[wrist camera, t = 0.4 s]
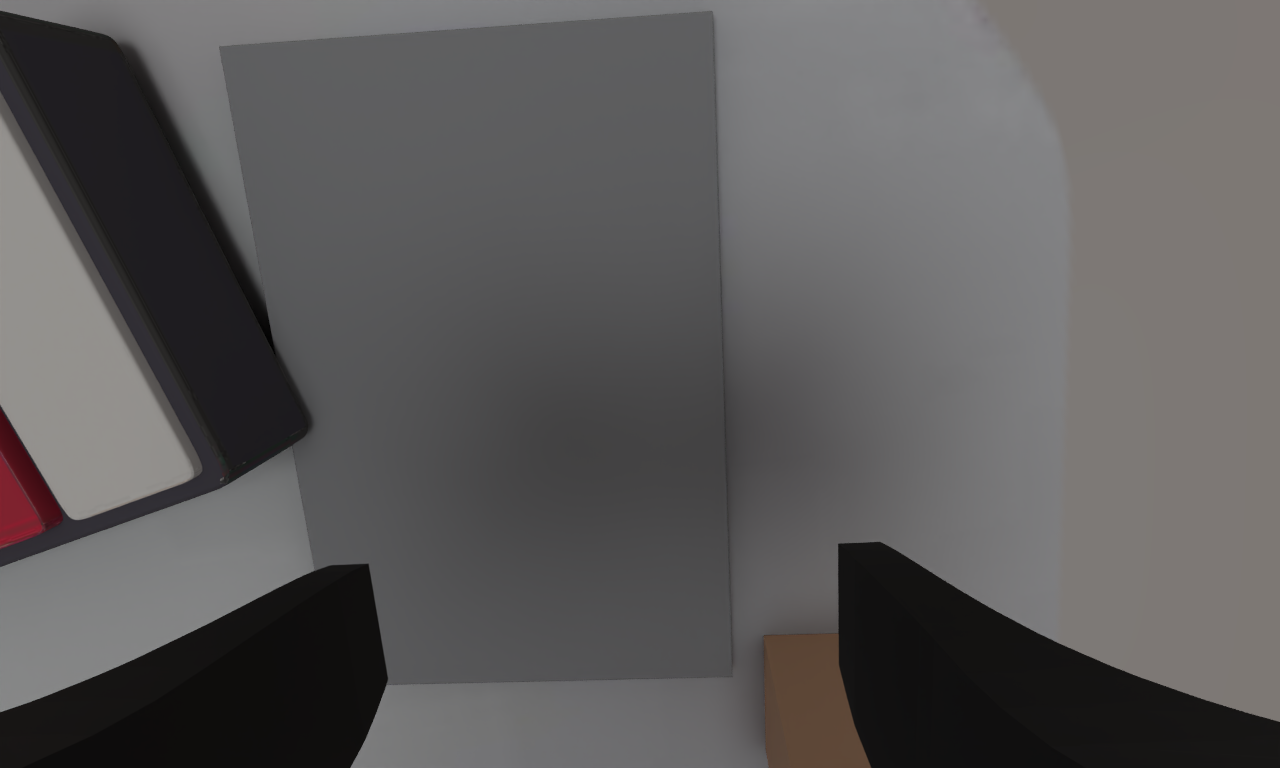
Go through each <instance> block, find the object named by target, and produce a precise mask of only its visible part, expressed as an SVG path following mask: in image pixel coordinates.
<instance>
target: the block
mask: <svg viewBox="0 0 1280 768" xmlns="http://www.w3.org/2000/svg"><path fill="white" fill-rule="evenodd" d="M764 679H765V735H766V753H767V759H768V765H769V768H871V766H870V764H869V761H868V759H867V756H866V753H865V751H864V748H863V746H862V743H861V741H860V738H859V736H858V733H857V731H856V728H855V725H854V722H853V718H852V714H851V711H850V707H849V703H848V700H847V696H846V692H845V688H844V684H843V680H842V676H841V672H840V668H839V634H800V635H764Z"/></svg>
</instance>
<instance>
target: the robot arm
mask: <svg viewBox="0 0 1280 768" xmlns="http://www.w3.org/2000/svg"><path fill="white" fill-rule="evenodd" d="M838 593H839V668H840V672H841V676H842V680H843V684H844V688H845V692H846V696H847V700H848V703H849V707H850V711H851V714H852V718H853V722H854V725H855V728H856V731H857V733H858V736H859V738H860V741H861V743H862V746H863V748H864V751H865V753H866V756H867V759H868V761H869V764H870V766H871V768H1280V722H1278V721H1274V720H1270V719H1267V718H1263V717H1259V716H1256V715H1252V714H1249V713H1245V712H1242V711H1239V710H1236V709H1232V708H1229V707H1226V706H1223V705H1219V704H1216V703H1213V702H1210V701H1206V700H1203V699H1200V698H1197V697H1194V696H1191V695H1189V694H1186V693H1183V692H1180V691H1177V690H1174V689H1171V688H1169V687H1166V686H1163V685H1160V684H1157V683H1154V682H1152V681H1149V680H1146V679H1143V678H1140V677H1138V676H1135V675H1132V674H1130V673H1127V672H1125V671H1122V670H1120V669H1117V668H1114V667H1112V666H1110V665H1107V664H1105V663H1103V662H1100V661H1098V660H1095V659H1093V658H1091V657H1089V656H1086V655H1084V654H1082V653H1079V652H1077V651H1075V650H1073V649H1070V648H1068V647H1065V646H1063V645H1061V644H1059V643H1057V642H1055V641H1053V640H1051V639H1049V638H1047V637H1044V636H1042V635H1040V634H1038V633H1036V632H1034V631H1032V630H1030V629H1029V628H1027V627H1025V626H1023V625H1021V624H1019V623H1017V622H1015V621H1013V620H1012V619H1010V618H1008V617H1006V616H1004V615H1002V614H1000V613H998V612H996V611H995V610H993V609H991V608H989V607H988V606H986V605H984V604H982V603H981V602H979V601H977V600H975V599H974V598H972V597H970V596H969V595H967V594H965V593H964V592H962V591H960V590H959V589H957V588H955V587H954V586H952V585H950V584H949V583H947V582H946V581H944V580H942V579H941V578H939V577H938V576H936V575H934V574H933V573H931V572H930V571H928V570H926V569H925V568H923V567H922V566H920V565H918V564H917V563H915V562H914V561H912V560H911V559H909V558H907V557H906V556H904V555H902V554H901V553H899V552H898V551H896V550H894V549H892V548H891V547H889V546H887V545H885V544H883V543H881V542H868V543H844V544H838ZM387 682H388V675H387V669H386V663H385V657H384V651H383V645H382V639H381V633H380V628H379V622H378V616H377V610H376V604H375V598H374V592H373V586H372V580H371V574H370V569H369V564H347V565H330V566H327V567H324V568H321V569H318V570H316V571H313V572H311V573H309V574H306V575H304V576H302V577H300V578H298V579H296V580H293V581H291V582H289V583H287V584H285V585H283V586H281V587H279V588H277V589H275V590H273V591H271V592H269V593H267V594H265V595H264V596H262V597H260V598H258V599H256V600H254V601H252V602H250V603H248V604H246V605H244V606H242V607H240V608H238V609H236V610H234V611H232V612H230V613H228V614H227V615H225V616H223V617H221V618H219V619H217V620H215V621H213V622H211V623H209V624H207V625H205V626H203V627H201V628H199V629H197V630H195V631H193V632H190V633H188V634H186V635H184V636H182V637H180V638H178V639H176V640H174V641H172V642H170V643H168V644H166V645H163V646H161V647H159V648H157V649H155V650H153V651H151V652H149V653H147V654H145V655H143V656H141V657H139V658H136V659H134V660H132V661H130V662H128V663H125V664H123V665H121V666H119V667H116V668H114V669H112V670H109V671H107V672H105V673H102V674H100V675H98V676H95V677H93V678H90V679H88V680H85V681H83V682H80V683H78V684H75V685H73V686H70V687H68V688H65V689H63V690H60V691H58V692H55V693H53V694H50V695H48V696H45V697H43V698H40V699H37V700H35V701H32V702H29V703H26V704H24V705H21V706H18V707H15V708H12V709H9V710H6V711H3V712H0V768H350V767H351V765H352V764H353V762H354V760H355V758H356V756H357V754H358V752H359V751H360V749H361V747H362V745H363V743H364V741H365V739H366V737H367V734H368V732H369V729H370V727H371V724H372V722H373V719H374V717H375V714H376V712H377V709H378V706H379V704H380V701H381V698H382V695H383V693H384V690H385V687H386V684H387Z"/></svg>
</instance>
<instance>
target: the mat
mask: <svg viewBox="0 0 1280 768" xmlns="http://www.w3.org/2000/svg"><path fill="white" fill-rule="evenodd" d="M219 48H220V54H221V59H222V65H223V70H224V76H225V81H226V87H227V92H228V98H229V103H230V109H231V114H232V120H233V125H234V131H235V136H236V142H237V147H238V152H239V158H240V163H241V169H242V174H243V180H244V185H245V191H246V196H247V202H248V207H249V213H250V218H251V224H252V229H253V235H254V240H255V246H256V251H257V257H258V262H259V267H260V273H261V278H262V284H263V289H264V295H265V300H266V306H267V311H268V317H269V322H270V328H271V333H272V339H273V344H274V350H275V355H276V359H277V361H278V363H279V365H280V367H281V369H282V371H283V373H284V375H285V377H286V379H287V381H288V383H289V385H290V387H291V389H292V391H293V393H294V395H295V397H296V399H297V401H298V403H299V405H300V407H301V408H302V411H303V413H304V415H305V417H306V419H307V422H308V431H307V434H306V435H305V437H303V438H302V439H301V440H299V441H298V442H296V443H295V444H293V445H292V448H293V454H294V459H295V465H296V470H297V476H298V481H299V487H300V492H301V498H302V503H303V508H304V514H305V519H306V525H307V530H308V536H309V541H310V547H311V552H312V558H313V563H314V569H315V571H316V570H318V569H321V568H324V567H327V566H330V565H347V564H369V569H370V574H371V580H372V586H373V592H374V598H375V604H376V610H377V616H378V622H379V628H380V633H381V639H382V645H383V651H384V657H385V663H386V669H387V675H388V682H387V684H386V685H398V684H442V683H486V682H530V681H574V680H618V679H662V678H706V677H732V648H731V615H730V582H729V548H728V515H727V482H726V448H725V415H724V381H723V348H722V315H721V281H720V248H719V214H718V181H717V148H716V114H715V81H714V48H713V14H712V11H707V12H693V13H679V14H665V15H651V16H637V17H623V18H609V19H595V20H582V21H568V22H554V23H540V24H526V25H512V26H498V27H484V28H470V29H456V30H443V31H429V32H415V33H401V34H387V35H373V36H359V37H345V38H331V39H318V40H304V41H290V42H276V43H262V44H248V45H234V46H220V47H219Z"/></svg>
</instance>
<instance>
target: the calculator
mask: <svg viewBox="0 0 1280 768" xmlns="http://www.w3.org/2000/svg"><path fill="white" fill-rule="evenodd" d="M307 431H308V422H307V419H306V417H305V415H304V413H303V411H302V408H301V407H300V405H299V403H298V401H297V399H296V397H295V395H294V393H293V391H292V389H291V387H290V385H289V383H288V381H287V379H286V377H285V375H284V373H283V371H282V369H281V367H280V365H279V363H278V361H277V359H276V357H275V355H274V353H273V351H272V349H271V347H270V345H269V343H268V341H267V339H266V337H265V335H264V333H263V331H262V329H261V327H260V325H259V323H258V321H257V319H256V317H255V315H254V313H253V311H252V309H251V307H250V305H249V303H248V301H247V299H246V297H245V295H244V293H243V291H242V289H241V287H240V285H239V283H238V281H237V279H236V277H235V275H234V273H233V271H232V269H231V267H230V265H229V263H228V261H227V259H226V257H225V255H224V253H223V251H222V249H221V247H220V246H219V244H218V242H217V240H216V238H215V236H214V234H213V232H212V230H211V228H210V226H209V224H208V222H207V220H206V218H205V216H204V214H203V212H202V210H201V208H200V206H199V204H198V202H197V200H196V198H195V196H194V194H193V192H192V190H191V188H190V186H189V184H188V182H187V180H186V178H185V176H184V174H183V172H182V170H181V168H180V166H179V164H178V162H177V160H176V158H175V156H174V154H173V152H172V150H171V148H170V146H169V144H168V142H167V140H166V138H165V136H164V134H163V132H162V130H161V128H160V126H159V124H158V122H157V120H156V118H155V116H154V114H153V112H152V110H151V108H150V106H149V104H148V102H147V100H146V98H145V96H144V94H143V92H142V90H141V88H140V86H139V85H138V83H137V81H136V79H135V77H134V75H133V73H132V71H131V69H130V67H129V65H128V63H127V61H126V59H125V57H124V55H123V53H122V51H121V49H120V48H119V46H118V44H117V43H116V42H115V41H114V40H113V39H112V38H111V37H109V36H107V35H104V34H100V33H96V32H92V31H88V30H83V29H79V28H75V27H70V26H66V25H61V24H57V23H52V22H48V21H43V20H39V19H35V18H30V17H26V16H21V15H17V14H12V13H8V12H3V11H0V567H1V566H4V565H7V564H10V563H12V562H15V561H18V560H21V559H24V558H26V557H29V556H32V555H35V554H38V553H41V552H43V551H46V550H49V549H52V548H55V547H57V546H60V545H63V544H66V543H69V542H71V541H74V540H77V539H80V538H83V537H86V536H88V535H91V534H94V533H97V532H100V531H102V530H105V529H108V528H111V527H114V526H116V525H119V524H122V523H125V522H128V521H130V520H133V519H136V518H139V517H142V516H145V515H147V514H150V513H153V512H156V511H159V510H161V509H164V508H167V507H170V506H173V505H175V504H178V503H181V502H184V501H187V500H190V499H192V498H195V497H198V496H201V495H204V494H206V493H209V492H212V491H214V490H217V489H220V488H222V487H223V486H225V485H227V484H229V483H231V482H232V481H234V480H236V479H237V478H239V477H241V476H242V475H244V474H245V473H247V472H249V471H250V470H252V469H254V468H255V467H257V466H259V465H260V464H262V463H264V462H265V461H267V460H269V459H270V458H272V457H274V456H275V455H277V454H278V453H280V452H282V451H283V450H285V449H287V448H288V447H290V446H291V445H293V444H295V443H296V442H298V441H299V440H301V439H302V438H303V437H305V435H306V434H307Z"/></svg>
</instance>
